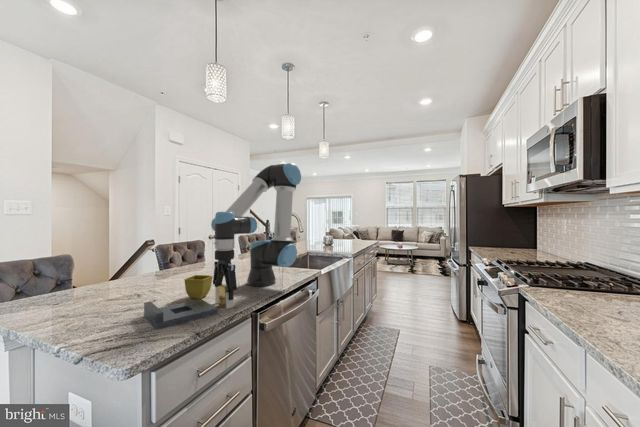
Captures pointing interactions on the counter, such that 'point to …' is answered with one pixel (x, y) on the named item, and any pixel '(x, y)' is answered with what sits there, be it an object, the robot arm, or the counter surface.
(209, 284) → the flower pot
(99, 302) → the counter surface
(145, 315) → the jig
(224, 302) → the bushing
